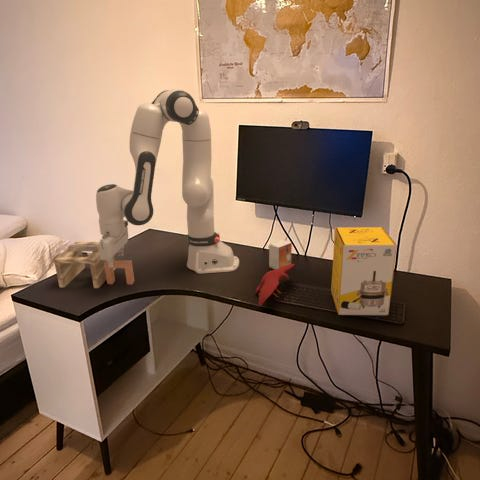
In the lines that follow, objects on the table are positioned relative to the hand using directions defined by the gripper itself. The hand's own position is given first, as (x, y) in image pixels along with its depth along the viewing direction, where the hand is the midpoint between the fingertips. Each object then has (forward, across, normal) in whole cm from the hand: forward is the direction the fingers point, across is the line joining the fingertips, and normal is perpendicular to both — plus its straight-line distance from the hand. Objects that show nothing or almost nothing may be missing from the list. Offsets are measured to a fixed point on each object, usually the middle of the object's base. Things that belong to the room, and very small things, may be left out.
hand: (116, 261), depth 157 cm
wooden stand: (+10, +4, +14) cm, 18 cm away
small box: (+8, +17, -64) cm, 66 cm away
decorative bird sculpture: (+8, -8, -61) cm, 62 cm away
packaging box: (+7, -12, -91) cm, 92 cm away
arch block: (+9, 0, -1) cm, 9 cm away
